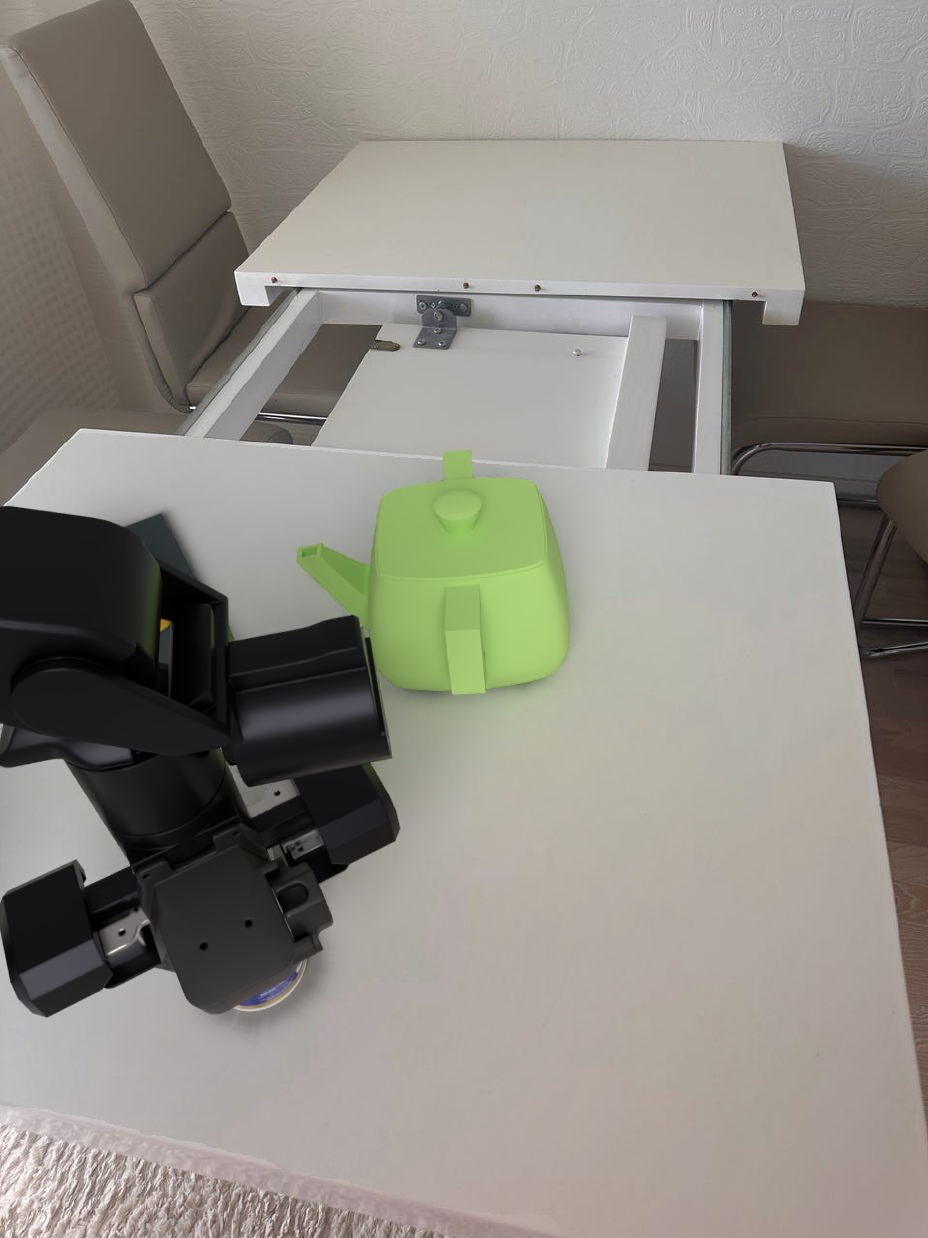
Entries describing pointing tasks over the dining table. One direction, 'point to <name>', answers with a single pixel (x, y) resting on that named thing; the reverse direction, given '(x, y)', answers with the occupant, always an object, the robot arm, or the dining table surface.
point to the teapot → (456, 583)
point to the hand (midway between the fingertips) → (247, 941)
